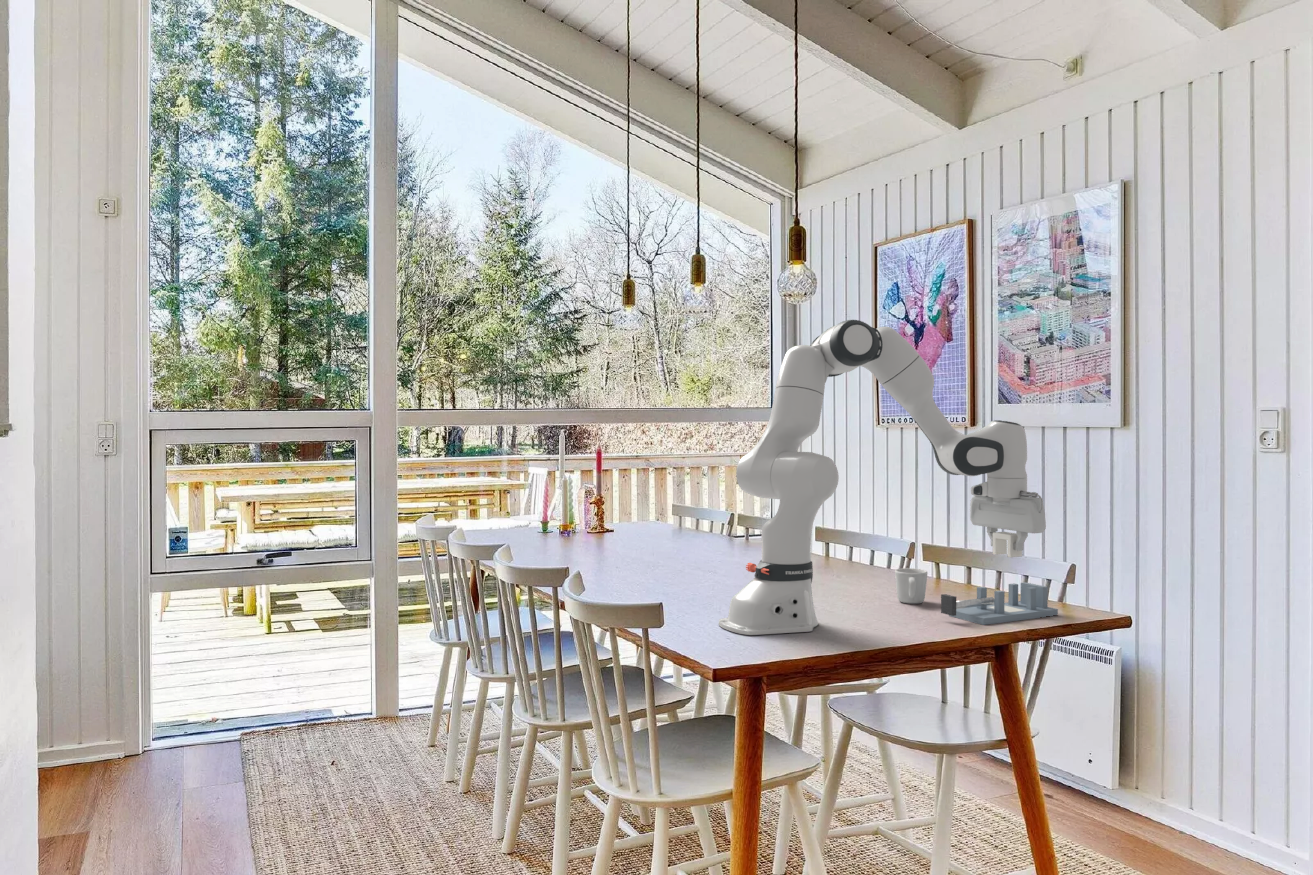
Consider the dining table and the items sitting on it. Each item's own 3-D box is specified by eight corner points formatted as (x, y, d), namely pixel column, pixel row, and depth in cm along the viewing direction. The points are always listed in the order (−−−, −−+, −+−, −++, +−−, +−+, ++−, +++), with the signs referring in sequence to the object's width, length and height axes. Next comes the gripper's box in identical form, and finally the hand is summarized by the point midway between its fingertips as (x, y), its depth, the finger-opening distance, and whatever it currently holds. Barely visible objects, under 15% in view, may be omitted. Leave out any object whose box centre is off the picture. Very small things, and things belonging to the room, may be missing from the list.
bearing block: (983, 625, 212) (983, 596, 212) (948, 615, 222) (948, 588, 222) (1057, 615, 222) (1057, 587, 222) (1021, 607, 232) (1021, 580, 232)
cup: (929, 608, 231) (929, 575, 230) (895, 607, 232) (896, 574, 232) (926, 599, 241) (926, 568, 241) (893, 598, 243) (894, 567, 243)
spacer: (1003, 553, 225) (1003, 531, 225) (1021, 556, 220) (1021, 534, 220) (992, 554, 224) (992, 532, 224) (1010, 557, 219) (1010, 535, 219)
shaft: (952, 615, 213) (952, 597, 213) (941, 612, 216) (941, 594, 216) (997, 610, 219) (997, 592, 219) (986, 607, 222) (986, 589, 222)
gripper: (1052, 492, 214) (1052, 553, 214) (985, 486, 232) (985, 542, 232) (1032, 493, 211) (1031, 555, 211) (965, 487, 229) (965, 544, 230)
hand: (1006, 548), depth 222 cm, fingers closed on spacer, 5 cm apart
